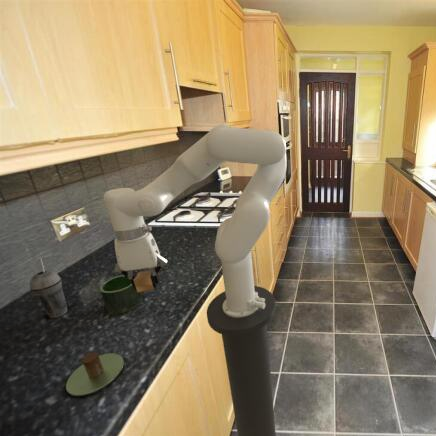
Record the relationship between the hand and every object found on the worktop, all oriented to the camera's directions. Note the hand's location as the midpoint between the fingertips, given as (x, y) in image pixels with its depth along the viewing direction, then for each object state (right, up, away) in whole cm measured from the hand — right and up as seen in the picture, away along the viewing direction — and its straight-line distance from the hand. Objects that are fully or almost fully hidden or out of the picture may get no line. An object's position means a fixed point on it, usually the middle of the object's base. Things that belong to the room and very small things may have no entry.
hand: (147, 285), depth 82 cm
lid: (-3, -18, -16) cm, 24 cm away
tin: (-13, -9, +10) cm, 18 cm away
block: (0, 0, 0) cm, 0 cm away
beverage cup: (-32, -11, +6) cm, 35 cm away
